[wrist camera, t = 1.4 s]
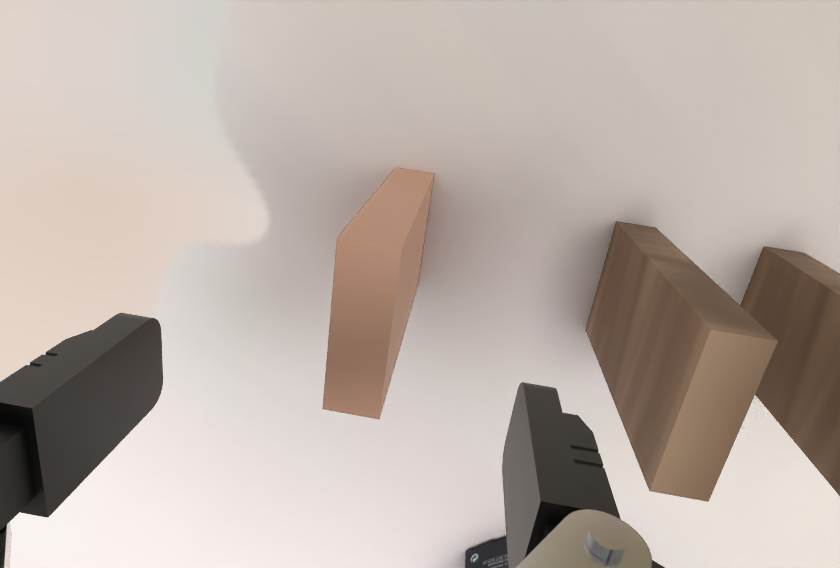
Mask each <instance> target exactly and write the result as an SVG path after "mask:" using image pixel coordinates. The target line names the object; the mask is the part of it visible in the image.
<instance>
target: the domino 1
mask: <svg viewBox="0 0 840 568" xmlns="http://www.w3.org/2000/svg"><path fill="white" fill-rule="evenodd" d="M433 180H434V174H433V173H427V172H421V171H414V170H408V169H402V168H395V169H394V170H393V172H392V173H391V174H390V175H389V176H388V178H387V179H386V180H385V181H384V182H383V184H382V185H381V186H380V187H379V188H378V190H377V191H376V192H375V193H374V194H373V195H372V197H371V198H370V199H369V200H368V201H367V203H366V204H365V205H364V206H363V207H362V209H361V210H360V211H359V212H358V213H357V215H356V216H355V217H354V218H353V219H352V221H351V222H350V223H349V224H348V225H347V227H346V228H345V229H344V230H343V231H342V232H341V234H340V235H339V236H338V237H337V245H336V256H335V268H334V280H333V292H332V304H331V315H330V327H329V339H328V351H327V362H326V374H325V386H324V398H323V409H325V410H330V411H336V412H342V413H347V414H353V415H358V416H364V417H369V418H375V419H380V415H381V412H382V408H383V405H384V401H385V398H386V394H387V391H388V388H389V384H390V381H391V377H392V374H393V370H394V367H395V363H396V360H397V356H398V353H399V349H400V346H401V342H402V339H403V335H404V332H405V328H406V325H407V321H408V318H409V315H410V311H411V308H412V304H413V301H414V297H415V294H416V290H417V287H418V281H419V274H420V267H421V261H422V254H423V247H424V240H425V234H426V227H427V220H428V213H429V207H430V200H431V193H432V186H433Z"/></svg>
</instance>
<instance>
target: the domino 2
mask: <svg viewBox="0 0 840 568" xmlns="http://www.w3.org/2000/svg"><path fill="white" fill-rule="evenodd" d="M586 332H587V334H588V337H589V339H590V342H591V345H592V347H593V350H594V352H595V355H596V357H597V360H598V362H599V365H600V367H601V370H602V372H603V375H604V377H605V380H606V382H607V385H608V387H609V390H610V392H611V395H612V398H613V400H614V403H615V405H616V408H617V410H618V413H619V415H620V418H621V420H622V423H623V425H624V428H625V430H626V433H627V435H628V438H629V440H630V443H631V445H632V448H633V450H634V453H635V456H636V458H637V461H638V463H639V466H640V468H641V471H642V473H643V476H644V478H645V481H646V483H647V486H648V488H649V491H652V492H658V493H664V494H669V495H675V496H680V497H686V498H691V499H697V500H702V501H709V499H710V497H711V494H712V492H713V490H714V487H715V485H716V483H717V480H718V478H719V476H720V474H721V471H722V469H723V467H724V464H725V462H726V460H727V457H728V455H729V453H730V451H731V448H732V446H733V444H734V441H735V439H736V437H737V434H738V432H739V430H740V428H741V425H742V423H743V421H744V418H745V416H746V414H747V411H748V409H749V407H750V404H751V402H752V400H753V398H754V395H755V393H756V391H757V388H758V386H759V384H760V381H761V379H762V377H763V375H764V372H765V370H766V368H767V365H768V363H769V361H770V358H771V356H772V354H773V352H774V349H775V347H776V345H777V342H778V341H777V340H776V339H775V338H774V337H773V336H772V335H771V334H770V333H769V332H768V331H767V330H766V329H765V328H763V327H762V326H761V325H760V324H759V323H758V322H757V321H756V320H755V319H754V318H753V317H752V316H750V315H749V314H748V313H747V312H746V311H745V310H744V309H743V308H742V307H741V306H740V305H739V304H738V303H736V302H735V301H734V300H733V299H732V298H731V297H730V296H729V295H728V294H727V293H726V292H725V291H723V290H722V289H721V288H720V287H719V286H718V285H717V284H716V283H715V282H714V281H713V280H712V279H711V278H709V277H708V276H707V275H706V274H705V273H704V272H703V271H702V270H701V269H700V268H699V267H698V266H697V265H695V264H694V263H693V262H692V261H691V260H690V259H689V258H688V257H687V256H686V255H685V254H684V253H682V252H681V251H680V250H679V249H678V248H677V247H676V246H675V245H674V244H673V243H672V242H671V241H670V240H668V239H667V238H666V237H665V236H664V235H663V234H662V233H661V232H660V231H659V230H658V229H657V228H654V227H648V226H642V225H636V224H629V223H623V222H617V221H616V224H615V228H614V231H613V235H612V239H611V242H610V246H609V249H608V253H607V256H606V260H605V263H604V267H603V270H602V274H601V278H600V281H599V285H598V288H597V292H596V295H595V299H594V302H593V306H592V309H591V313H590V316H589V320H588V324H587V327H586Z"/></svg>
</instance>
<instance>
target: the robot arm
mask: <svg viewBox="0 0 840 568" xmlns="http://www.w3.org/2000/svg"><path fill="white" fill-rule="evenodd" d="M162 385H163V367H162V342H161V327H160V324H159V322H158V320H156V319H154V318H149V317H142V316H137V315H131V314H125V313H119V314H117V315H115V316H114V317H112V318H111V319H109V320H108V321H106V322H105V323H103V324H102V325H100V326H99V327H98V328H96V329H95V330H93V331H92V330H91V331H88V332H85V333H82V334H79V335H77V336H74V337H71V338H68V339H65V340H64V341H62V342H61V343H59V344H58V345H56V346H55V347H53V348H52V349H50V350H49V351H47V352H46V355H41V356H40V357H38V358H36V359H35V360H33V361H32V362H30V365H29V366H28V365H26V366H24V367H23V368H21V369H20V370H18V371H16V372H15V373H14V374H12V375H10V376H9V377H7V378H6V379H4V380H3V381H1V382H0V568H10V553H11V536H12V535H11V528H10V521H11V520H12V519H13V518H14V517H15V516H16V515H17V514H18V513H19V512H21V513H27V514H32V515H37V516H43V517H49V516H50V515H51V514H52V513H53V512H54V511H55V510H56V509H57V508H58V507H59V505H60V504H61V503H62V502H63V501H64V500H65V499H66V498H67V497H68V496H69V495H70V494H71V493H72V492H73V491H74V490H75V489H76V488H77V487H78V486H79V485H80V484H81V483H82V481H83V480H84V479H85V478H86V477H87V476H88V475H89V474H90V473H91V472H92V471H93V470H94V469H95V468H96V467H97V466H98V465H99V464H100V463H101V462H102V461H103V460H104V459H105V458H106V456H107V455H108V454H109V453H110V452H111V451H112V450H113V449H114V448H115V447H116V446H117V445H118V444H119V443H120V442H121V441H122V440H123V439H124V438H125V437H126V436H127V435H128V434H129V432H130V431H131V430H132V429H133V428H134V427H135V426H136V425H137V424H138V423H139V422H140V421H141V420H142V419H143V418H144V417H145V416H146V415H147V414H148V413H149V412H150V411H151V410H152V408H153V407H154V406H155V404H156V403H157V401H158V399H159V396H160V394H161V390H162ZM502 473H503V489H504V505H505V520H506V536H507V552H508V567H509V568H665V567H663V566H661V565H659V564H658V563H656V562H654V561H653V560H652V556H651V553H650V550H649V548H648V546H647V544H646V542H645V541H644V540H643V538H642V537H641V536H640V535H639V534H638V532H637V531H636V530H634V529H633V528H632V527H631V526H630V525H628V524H627V523H625V522H624V521H622V520H621V519H620V516H619V513H618V510H617V506H616V503H615V500H614V497H613V494H612V491H611V488H610V485H609V481H608V478H607V475H606V472H605V469H604V468H603V463H602V460H601V457H600V453H598V447H597V444H596V441H595V438H594V435H593V432H592V431H591V430H590V429H589V428H588V426H587V425H586V424H585V423H584V422H583V421H582V420H581V418H580V417H579V416H578V415H572V414H566V413H562V409H561V405H560V401H559V397H558V393H557V390H556V388H552V387H546V386H540V385H534V384H529V383H523V382H522V383H520V385H519V388H518V391H517V395H516V399H515V403H514V408H513V412H512V416H511V420H510V424H509V428H508V433H507V437H506V441H505V446H504V453H503V464H502Z"/></svg>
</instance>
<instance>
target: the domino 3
mask: <svg viewBox="0 0 840 568" xmlns="http://www.w3.org/2000/svg"><path fill="white" fill-rule="evenodd" d="M741 307H742V308H743V309H744V310H745V311H746V312H747V313H748V314H749V315H750V316H752V317H753V318H754V319H755V320H756V321H757V322H758V323H759V324H760V325H761V326H762V327H763V328H765V329H766V330H767V331H768V332H769V333H770V334H771V335H772V336H773V337H774V338H775V339H776V340H777V341H778V342H777V345H776V347H775V349H774V352H773V354H772V356H771V358H770V361H769V363H768V365H767V368H766V370H765V372H764V375H763V377H762V379H761V381H760V384H759V386H758V388H757V391H756V393H755V395H756V396H757V397H758V398H759V400H760V401H761V402H762V403H763V404H764V406H765V407H766V408H767V409H768V410H769V412H770V413H771V414H772V415H773V416H774V418H775V419H776V420H777V421H778V422H779V424H780V425H781V426H782V427H783V428H784V430H785V431H786V432H787V433H788V434H789V436H790V437H791V438H792V439H793V440H794V442H795V443H796V444H797V445H798V446H799V448H800V449H801V450H802V451H803V452H804V454H805V455H806V456H807V457H808V458H809V460H810V461H811V462H812V463H813V464H814V466H815V467H816V468H817V469H818V470H819V472H820V473H821V474H822V475H823V476H824V478H825V479H826V480H827V481H828V482H829V484H830V485H831V486H832V487H833V488H834V490H835V491H836V492H837V493H838V494H839V496H840V273H838V272H836V271H834V270H833V269H831V268H829V267H828V266H826V265H824V264H822V263H821V262H819V261H817V260H816V259H814V258H812V257H810V256H809V255H807V254H805V253H801V252H795V251H789V250H783V249H776V248H770V247H764V248H763V250H762V253H761V255H760V258H759V260H758V263H757V265H756V268H755V270H754V273H753V276H752V278H751V281H750V283H749V286H748V288H747V291H746V293H745V296H744V298H743V301H742V303H741Z"/></svg>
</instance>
